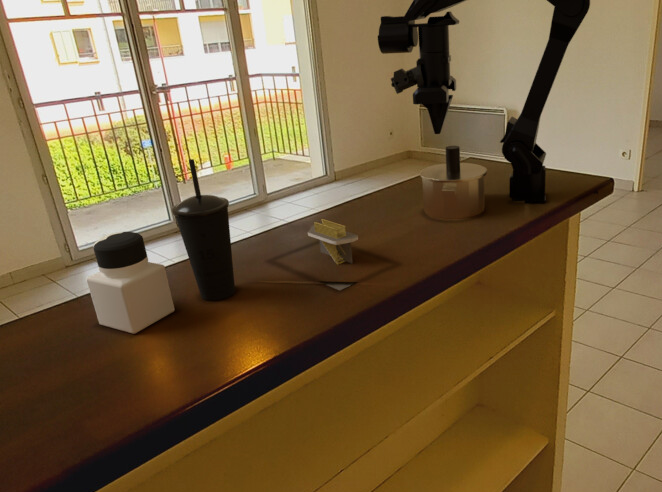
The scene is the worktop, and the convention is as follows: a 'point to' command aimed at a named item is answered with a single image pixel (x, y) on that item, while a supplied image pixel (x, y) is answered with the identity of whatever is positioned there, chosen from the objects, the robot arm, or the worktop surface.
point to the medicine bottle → (128, 284)
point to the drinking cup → (207, 241)
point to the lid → (453, 169)
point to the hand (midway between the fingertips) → (437, 133)
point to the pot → (453, 199)
